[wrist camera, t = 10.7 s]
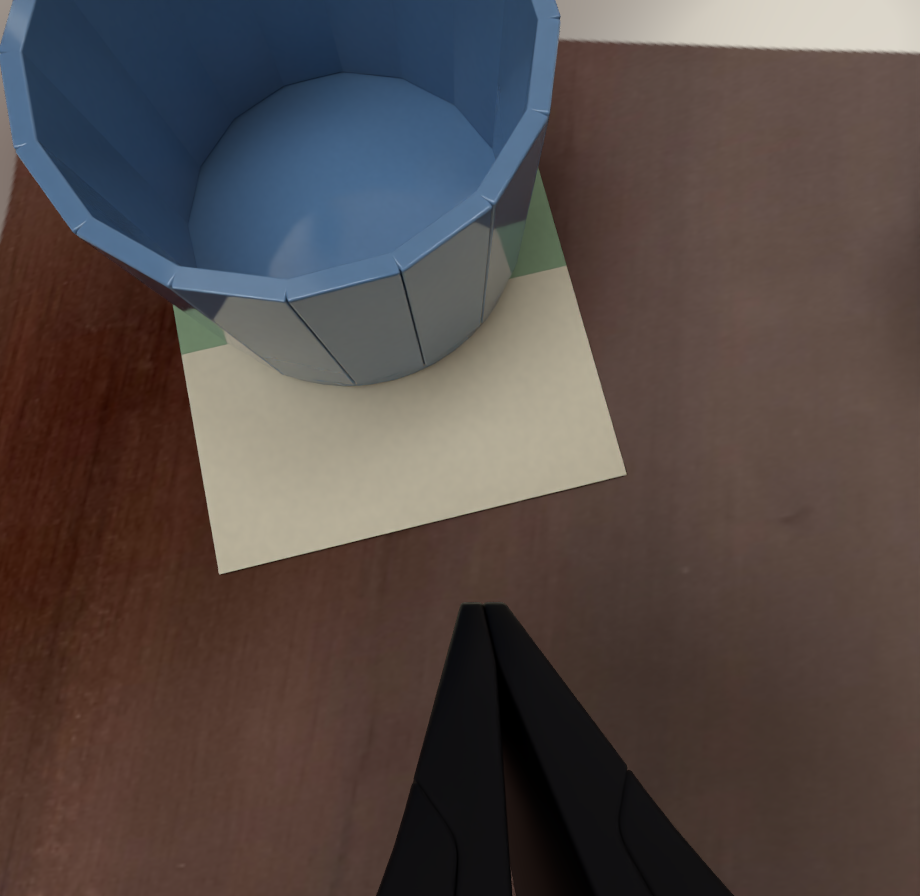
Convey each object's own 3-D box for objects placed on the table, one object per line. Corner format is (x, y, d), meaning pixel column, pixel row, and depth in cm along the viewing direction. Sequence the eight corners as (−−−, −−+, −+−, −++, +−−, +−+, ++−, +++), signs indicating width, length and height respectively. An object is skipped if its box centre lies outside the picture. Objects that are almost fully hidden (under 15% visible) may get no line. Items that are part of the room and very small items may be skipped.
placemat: (625, 474, 22) (626, 474, 22) (221, 574, 22) (219, 574, 21) (514, 90, 25) (515, 87, 24) (151, 170, 24) (149, 167, 24)
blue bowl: (559, 337, 23) (629, 214, 13) (223, 425, 22) (47, 363, 13) (469, 44, 25) (473, -240, 15) (158, 119, 24) (-33, -128, 15)
